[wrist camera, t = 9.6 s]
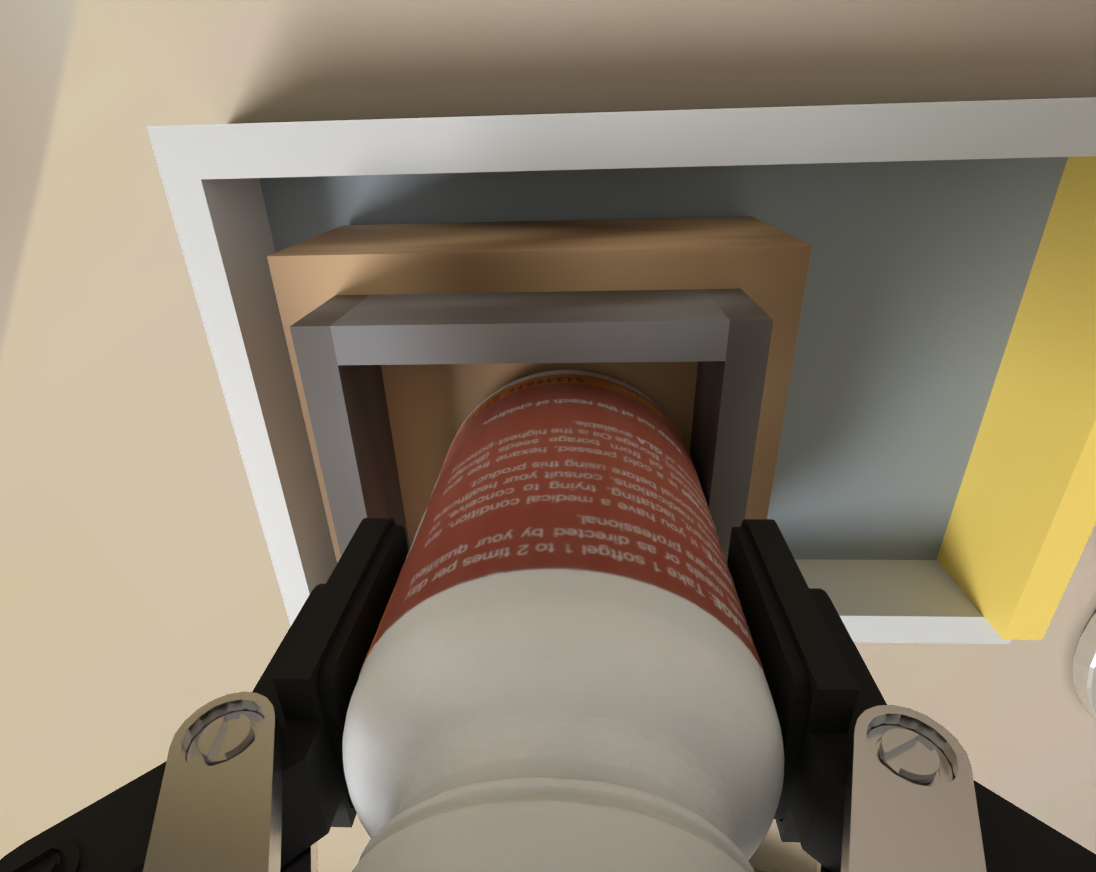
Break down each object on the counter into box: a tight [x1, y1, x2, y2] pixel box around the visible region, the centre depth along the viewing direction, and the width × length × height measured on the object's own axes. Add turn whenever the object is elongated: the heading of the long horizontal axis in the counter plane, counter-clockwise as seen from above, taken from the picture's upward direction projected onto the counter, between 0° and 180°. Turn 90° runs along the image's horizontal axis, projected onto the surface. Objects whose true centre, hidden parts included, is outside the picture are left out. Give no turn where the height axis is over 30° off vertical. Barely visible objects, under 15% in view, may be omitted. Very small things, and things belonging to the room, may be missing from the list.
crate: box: [267, 216, 812, 563], centre depth 17 cm, size 12×11×8 cm
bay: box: [146, 97, 1096, 644], centre depth 19 cm, size 25×16×5 cm, turn 92°
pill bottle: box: [342, 370, 785, 872], centre depth 11 cm, size 6×6×11 cm
